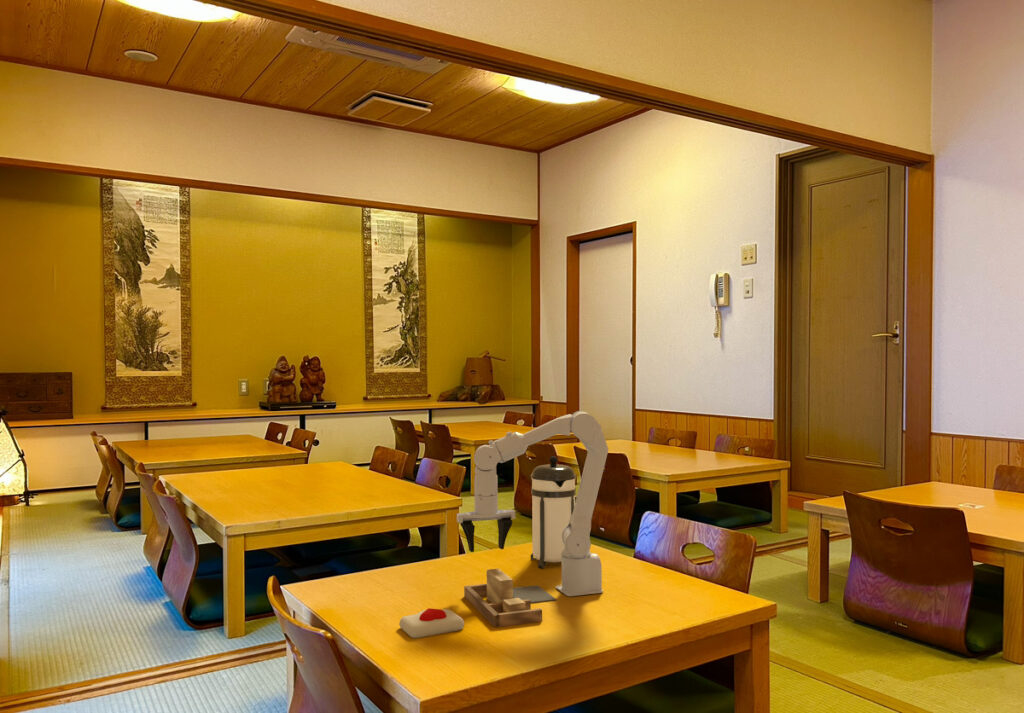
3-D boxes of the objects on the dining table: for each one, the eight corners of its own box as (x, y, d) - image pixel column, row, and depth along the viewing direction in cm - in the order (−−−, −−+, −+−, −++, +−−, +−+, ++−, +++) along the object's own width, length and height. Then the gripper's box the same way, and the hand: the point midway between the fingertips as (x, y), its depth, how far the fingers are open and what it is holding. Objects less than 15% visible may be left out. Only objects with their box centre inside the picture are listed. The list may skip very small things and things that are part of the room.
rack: (507, 591, 189) (507, 581, 189) (542, 621, 167) (542, 609, 167) (464, 596, 185) (464, 586, 185) (494, 627, 164) (494, 615, 164)
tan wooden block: (498, 597, 184) (498, 568, 185) (512, 610, 175) (512, 579, 175) (486, 599, 183) (486, 569, 184) (500, 611, 174) (500, 580, 174)
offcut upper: (518, 606, 172) (518, 597, 172) (525, 611, 169) (525, 602, 169) (502, 608, 171) (502, 599, 171) (509, 613, 167) (509, 604, 167)
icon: (447, 598, 171) (466, 611, 162) (447, 617, 171) (466, 631, 162) (395, 606, 165) (411, 620, 156) (395, 626, 165) (411, 641, 156)
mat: (537, 586, 193) (537, 585, 193) (556, 600, 182) (556, 599, 182) (503, 590, 190) (503, 588, 190) (520, 604, 179) (520, 603, 179)
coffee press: (592, 560, 218) (592, 455, 218) (560, 572, 206) (560, 460, 206) (543, 551, 229) (542, 450, 229) (509, 562, 216) (509, 456, 217)
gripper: (508, 490, 195) (508, 543, 195) (453, 493, 190) (453, 548, 190) (517, 494, 188) (518, 550, 188) (460, 498, 184) (461, 555, 184)
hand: (486, 549), depth 189 cm, fingers open, 7 cm apart
